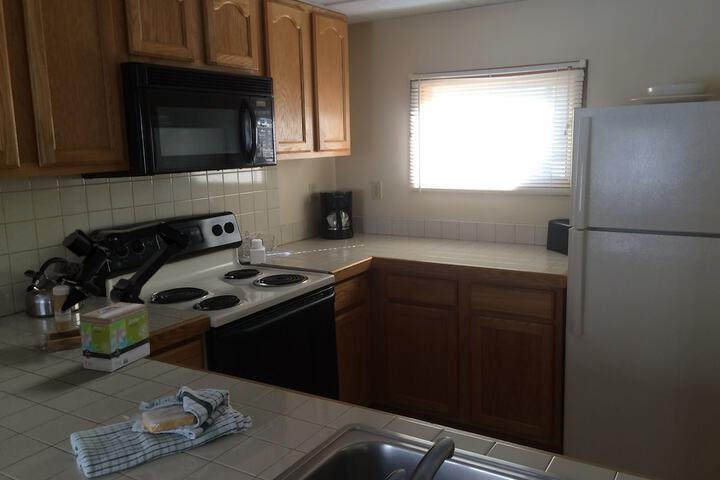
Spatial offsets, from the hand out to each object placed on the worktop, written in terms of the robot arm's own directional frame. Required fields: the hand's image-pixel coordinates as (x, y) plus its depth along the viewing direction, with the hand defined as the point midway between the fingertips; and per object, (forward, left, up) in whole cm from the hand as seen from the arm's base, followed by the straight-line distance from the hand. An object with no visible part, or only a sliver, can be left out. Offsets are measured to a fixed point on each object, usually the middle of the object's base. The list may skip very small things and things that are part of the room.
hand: (58, 309), depth 180 cm
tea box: (-12, +24, -11) cm, 29 cm away
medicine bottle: (-94, -86, -11) cm, 128 cm away
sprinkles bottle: (-1, -1, -7) cm, 7 cm away
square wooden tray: (-1, 0, -11) cm, 11 cm away
